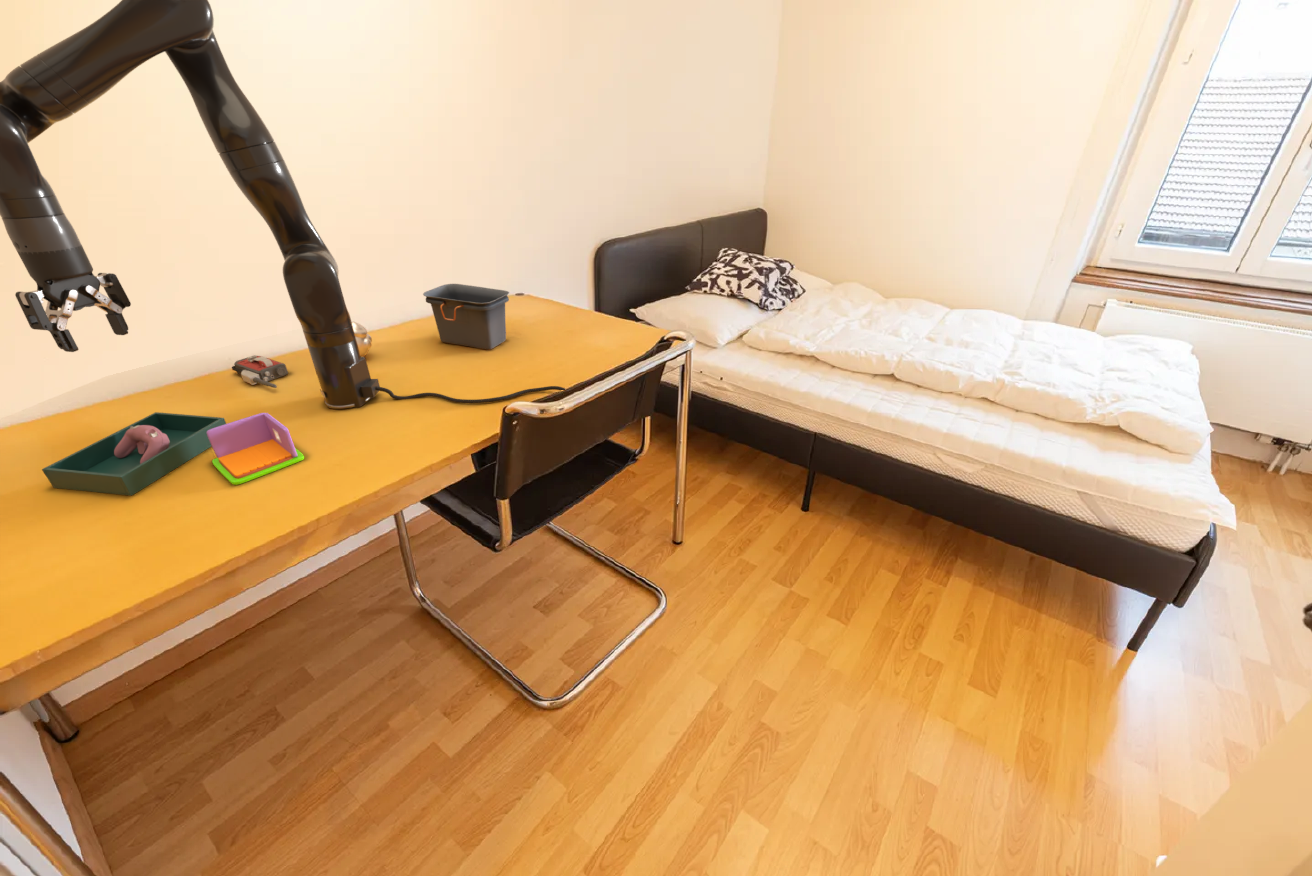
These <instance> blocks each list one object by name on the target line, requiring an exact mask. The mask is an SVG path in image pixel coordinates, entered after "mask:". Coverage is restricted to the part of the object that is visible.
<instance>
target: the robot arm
mask: <svg viewBox="0 0 1312 876" xmlns="http://www.w3.org/2000/svg"><path fill="white" fill-rule="evenodd" d="M214 19H215V18H214V12H213V9H212V6H211V4H210V2H209V0H120V1H119V3H117V4H116V5H115V6H113V7H112V8H111V9H110V10H109V11H108V12H106V13H105V14H103V15H102V16H101V17H100V18H98V19H96V20H95V21H93V22H92V23H91V24H89V25H87V26H86V27H84V28H82V29H81V30H78V31H77V32H75V33H74V34H71V35H70V36H68V37H66V38H65V39H63V40H60V41H59V42H57V43H55V44H54V45H52V46H50V47H48V48H46V49H45V50H43V51H41V52H39V53H37V54H36V55H34V56H33V57H31V58H29V59H28V60H26V61H24V62H23V63H21V64H20V65H18V66H16V67H14V69H12V70H11V71H9V73H7V74H6V76H5V77H4V79H3V80H0V217H1V221H2V223H3V225H4V228H5V231H6V234H7V235H8V238H9V239H10V241H11V243H12V245H13V247H14V249H15V251H16V252H17V254H18V256H19V258H20V260H21V262H22V263H23V266H24V267H25V270H26V271H27V273H28V275H29V277H31V279H32V280H33V281H34V282H35V283H36V287H37V288H36V290H32V291H17V292H15V294H14V295H15V299H16V300H17V302H18V304H19V306H20V308H21V311H22V313H23V314H24V317H25V319H26V321H27V323H28V325H29V327H30V329H32V330H37V331H38V330H39V331H48V332H49V333H50V334H51V337H52V338H53V340H54V341H55V344H56V345H57V347H58V349H60V350H63V351H64V352H67V353H75V352H79V347H78V344H77V343H76V342H75V339H74V338H73V336H72V334H71V331H70V330H69V328H68V329H67V326H68V321H69V319H70V318H72V315H73V312H77V311H80V310H83V309H84V308H91V307H97V308H98V309H101V311H103V312H105V313H106V314H105V317H106V320H107V322H108V324H109V326H110V328H111V330H112V332H113V333H114V334H115V335H116V336H125V335H128V334H129V325H128V324H127V322H126V320H125V317H124V315H123V310H125V308H129V307H131V305H132V303H131V300H130V299H129V297H128V295H127V293H126V292H125V289H124V288H123V285H122V284H121V282H120V280H119V278H118V276H117V274H116V273H111V272H99V273H97V275H95V274H94V273H93V271H94V268H93V265H92V264H91V261H90V259H89V257H88V255H87V253H86V250H85V248H84V246H83V244H82V242H81V241H80V238H79V236H78V234H77V232H76V230H75V228H74V227H73V225H72V223H71V222H70V220H69V219H68V217H67V216H66V214H65V212H64V210H63V208H62V207H63V206H62V205H61V203H60V201H59V199H58V197H57V195H56V193H55V191H54V189H53V187H52V186H51V184H50V182H49V181H48V179H46V177H44V175H43V174H42V172H41V169H40V168H39V165H38V163H37V161H36V157H34V154H33V152H32V150H31V148H30V145H29V143H30V142H32V141H33V140H35V139H36V138H37V137H39V136H40V135H42V134H43V133H44V132H45V131H47V130H48V129H50V128H51V127H52V126H53V125H55V124H56V123H59V122H62V121H64V120H67V119H69V118H70V117H72V116H74V114H76V113H77V114H78V112H80V111H82V110H83V109H84V108H87V107H88V106H89V105H90V104H92V103H93V102H95V101H97V100H98V99H100V98H101V97H102V96H104V95H105V94H106V93H108V92H109V91H110V90H111V89H113V88H114V87H115V86H116V85H117V84H118V83H120V82H121V81H122V80H123V79H125V78H126V77H127V76H128V75H129V74H131V73H132V72H133V71H134V70H136V69H137V68H138V67H140V66H141V65H143V64H144V63H146V62H147V61H150V60H151V59H153V58H155V57H156V56H158V55H161V54H163V53H165V54H166V56H167V57H168V59H169V60H170V62H171V63H172V65H173V66H174V68H175V70H176V72H177V73H178V74H179V76H180V77H181V80H182V81H183V82H184V84H185V86H186V88H187V90H188V92H189V94H190V97H191V98H192V101H193V103H194V105H195V107H196V110H197V112H198V115H199V117H200V119H201V121H202V124H203V125H204V128H205V130H206V132H207V134H208V136H209V138H210V140H211V142H212V144H213V145H214V148H215V150H216V152H217V153H218V155H219V157H220V159H221V161H222V162H223V164H224V166H225V168H226V170H227V171H228V173H229V175H230V177H231V179H232V180H233V182H234V183H235V185H236V186H237V188H238V189H239V190H240V191H241V193H242V194H243V195H244V197H245V198H246V200H248V202H249V203H250V204H251V205H252V207H253V208H254V209H255V210H256V212H257V213H258V214H259V215H260V217H261V218H262V219H263V220H264V222H265V223H266V224H267V226H268V228H269V229H270V231H271V233H272V235H273V237H274V239H275V241H276V244H277V246H278V247H279V250H280V252H281V255H282V257H283V260H284V261H283V262H284V263H283V265H282V277H283V281H284V285H285V287H286V291H287V293H288V296H289V299H290V301H291V305H292V308H293V311H294V314H295V316H296V318H297V320H298V322H299V323H300V327H301V330H302V333H303V335H304V339H305V342H306V346H307V348H308V352H309V354H310V358H311V361H312V364H313V368H314V370H315V373H316V376H317V380H318V383H319V387H320V389H319V390H320V394H321V395H322V397H323V398H324V403H325V406H326V407H327V408H330V409H334V410H345V409H351V408H361V407H362V406H364V405H365V404H366V403H368V402H369V401H370V400H371V399H374V398H375V397H376V396H377V395H378V393H379V392H384V393H387V394H388V395H389V396H390V398H391V399H394V400H398V401H400V400H401V401H402V400H413V399H417V398H418V399H420V398H424V397H433V398H438V399H443V400H445V401H449V402H452V403H456V404H457V403H458V404H485V403H486V404H487V403H493V402H500V401H505V400H509V399H512V398H516V397H519V396H521V395H525V394H530V393H538V392H545V391H546V392H547V391H561V390H565V389H566V388H565V387H562V386H557V385H549V386H543V387H542V386H541V387H534V388H528V389H527V388H526V389H522V390H519V391H516V392H512V393H510V394H507V395H502V396H496V397H490V398H481V399H480V398H476V399H464V398H463V399H462V398H455V397H451V396H448V395H444V394H441V393H437V392H422V393H416V394H412V395H405V396H403V395H402V396H400V395H396V394H394V392H393V391H392V390H391V389H388V388H386V387H381V385H380V382H379V379H378V378H372V377H371V373H370V370H369V366H368V362H367V359H366V357H365V356H364V357H361V355H360V352H359V348H358V345H357V341H356V337H355V333H354V330H353V326H352V322H353V321H352V319H351V315H350V311H349V310H348V308H347V305H346V301H345V298H344V294H343V290H342V287H341V283H340V279H339V266H338V263H337V261H336V259H335V257H334V256H333V254H332V253H331V251H330V250H329V248H328V247H327V245H326V244H325V241H324V240H323V238H322V237H321V235H320V234H319V232H318V231H317V229H316V227H315V226H314V224H313V222H312V220H311V219H310V217H309V215H308V213H307V211H306V208H305V205H304V203H303V201H302V197H301V196H300V193H299V190H298V188H297V186H296V183H295V180H294V179H293V176H292V175H291V172H290V170H289V168H288V165H287V164H286V161H285V159H284V158H283V155H282V153H281V150H280V148H279V147H278V145H277V143H276V141H275V139H274V137H273V135H272V134H271V131H270V130H269V128H268V127H267V125H266V124H265V123H264V121H263V119H262V118H261V116H260V115H259V113H258V112H257V110H256V109H255V107H254V106H253V105H252V103H251V101H250V100H249V98H248V97H247V96H246V94H245V93H244V92H243V90H242V89H241V87H240V86H239V83H237V81H236V79H235V78H234V76H233V74H232V71H231V70H230V68H229V65H228V63H227V60H226V59H225V57H224V54H223V52H222V50H221V47H220V45H219V43H218V40H217V37H216V34H215V32H214V27H215V26H214V23H215V20H214ZM101 287H102V288H103V289H104V291H105V293H106V295H107V296H106V295H105V294H103V293H102V292H100V288H101ZM43 299H44V300H46V301H47V302H46V303H47V304H46V307H45V308H44V306H43V304H44V303H45V302H44V300H43ZM561 392H562V391H561Z"/></svg>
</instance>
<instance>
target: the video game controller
mask: <svg viewBox="0 0 1312 876" xmlns="http://www.w3.org/2000/svg"><path fill="white" fill-rule="evenodd" d="M169 444H170V441H169V438H168V436H167V435H166V434H164V433H162V432H161V431H160V430H159V429H157V428H156V427H153V426H150V425H137V426H135V427H132V426H131V427H130V429H128V430H127V431H126V433H125V435H124V437H123V438H122V440H121V441H120V442H119V443H118V445H117V446H116V448H115V450H114V455H115V456H116V457H117V458H124V457H126V456H128V455H129V454H131V453H132V452H133V451H134V450H135V449H136V448H137V447H138V452H139V453H140V454H144V455H143V456H142V458H141V460H140V464H141V463H143V462H145V461H146V460H148V459H150V458H152V457H153V456H155V455H157V454H159V453H160V452H162V451H164V450H166V449H167V448H168V447H169Z"/></svg>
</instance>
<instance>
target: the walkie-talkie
mask: <svg viewBox="0 0 1312 876" xmlns="http://www.w3.org/2000/svg"><path fill="white" fill-rule="evenodd" d="M231 370H232V371H234V372H236V373H237V375H240V376H241V378H242V380H243V382H245V383H248V384H250V385H252V386H253V385H256V384H259V385H262V386H265V387H270V388H273V389H277V388H278V385H277V384H276V383H272V382H271V381H273V380H276V379H279V378H282V377H285V376H288V374H289V371H288V369H287V365H286V363H284V362H280V361H277V360H274V359H271V358H269V357H265V356H262V355H256V354H255V355H254V354H253V355H251V356H248V357H244V358H241V359H239V360H238V359H237V360H236V361H235V362H234V365H232V366H231Z"/></svg>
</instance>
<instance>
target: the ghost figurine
mask: <svg viewBox="0 0 1312 876" xmlns="http://www.w3.org/2000/svg"><path fill="white" fill-rule="evenodd" d="M351 322H352V326H353V330H354V333H355V337H356V341H357V345H358V348H359V352H360V355H361V357H365V356H366V355H367V354H368V353H369V349H371V348H372V342H373V338H372V336H371V335H370V334H369V333H368V330H367V328H366V327H365V326H364V325H362V324H361V323H359V322H356V321H351Z"/></svg>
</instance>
